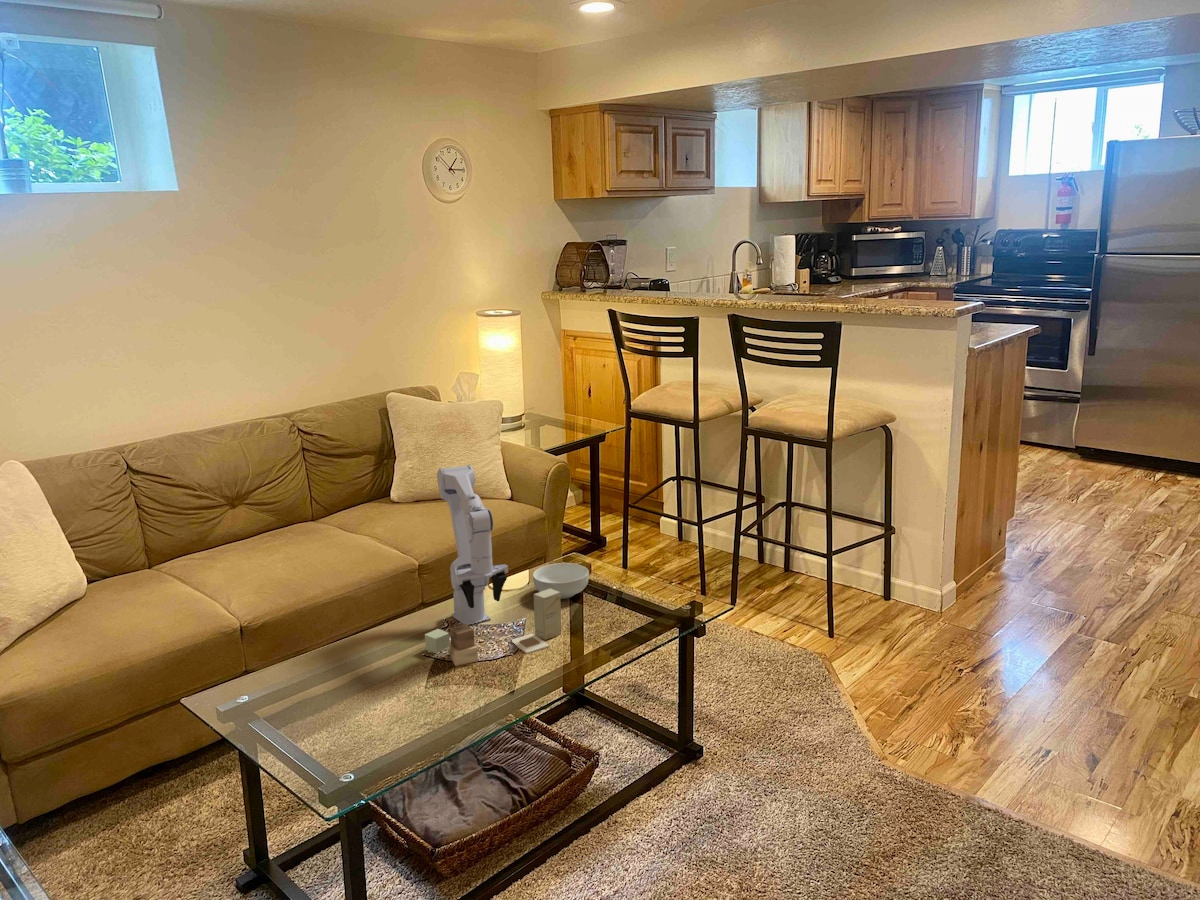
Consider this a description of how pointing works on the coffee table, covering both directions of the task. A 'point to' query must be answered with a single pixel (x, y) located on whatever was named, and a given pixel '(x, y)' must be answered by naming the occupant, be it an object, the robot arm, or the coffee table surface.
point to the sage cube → (436, 640)
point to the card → (530, 643)
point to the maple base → (463, 655)
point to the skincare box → (547, 613)
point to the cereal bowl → (561, 578)
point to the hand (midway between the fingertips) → (483, 603)
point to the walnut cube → (462, 637)
